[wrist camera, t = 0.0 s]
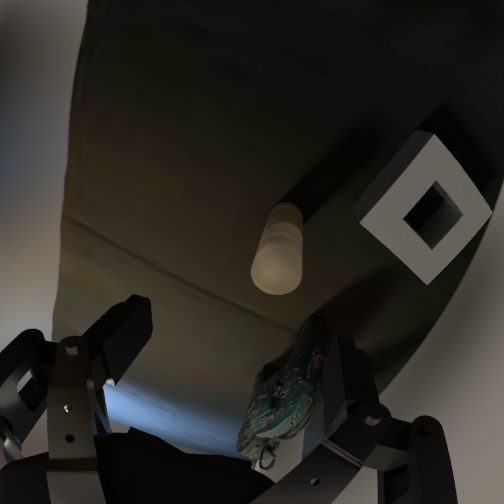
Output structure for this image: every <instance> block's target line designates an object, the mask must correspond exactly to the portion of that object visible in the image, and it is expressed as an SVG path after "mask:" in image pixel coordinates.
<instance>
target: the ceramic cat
mask: <svg viewBox="0 0 504 504" xmlns="http://www.w3.org/2000/svg"><path fill="white" fill-rule="evenodd" d="M330 345H331V339H330V336H329V332H328V326H327V322H326V321H324V320H323V319H320V318H317V317H316V316H314V315H311V316H310V317H309V318H307V319H306V320H305V322H304V323H303V325H302V326H301V328H300V334H299V338H298V340H297V344H296V346H295V349H294V351H293V353H292V355H291V357H290V358H289V360H288V362H287V363H286V365H285V366H284V367H283V368H282V369H281V370H279V371H277V370H275V369H272V368H270V367H267V366H264V367H263V368H262V370H261V371H260V372H259V373H258V374H257V376H256V380H255V383H254V388H253V393H252V395H251V397H250V400H249V404H248V409H247V412H246V416H245V420H244V423H243V426H242V428H241V430H240V432H239V435H238V440H237V452H238V453H239V454H242V455H244V456H247V457H249V459H250V460H251V461H252V464H253V466H254V467H256V463H257V461H258V460H260V461H259V467H260V468H261V469H263V470H270V469H271V468H273V467H274V465H275V461H276V459H275V458H277V457H276V455H275V454H274V453H275V452H276V450H277V449H278V447H279V444H280V441H282V440H288V439H292V438H294V437H295V436H297V435H298V434H300V433H301V432H302V431H303V430H304V429H305V428H306V427H307V426H308V425H309V424H310V423H311V421H312V419H313V417H314V415H315V414H316V412H317V411H318V409H319V408H320V406H321V404H322V402H323V400H324V399H323V366H324V362H325V359H326V356H327V354H328V351H329V348H330ZM269 457H275V458H274V459H273V460H272V462H271V463H270V465H269V466H268V467H263V465H262V460H265V459H267V458H269Z"/></svg>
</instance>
